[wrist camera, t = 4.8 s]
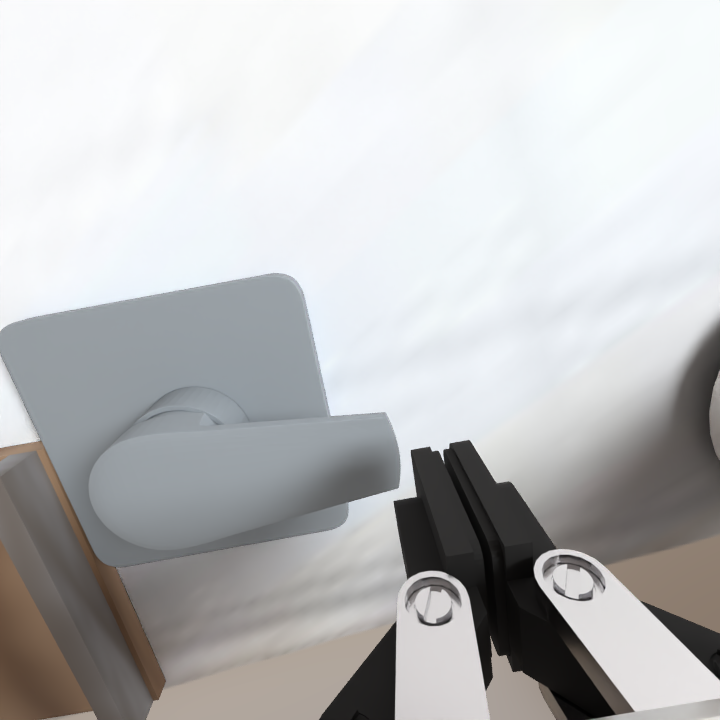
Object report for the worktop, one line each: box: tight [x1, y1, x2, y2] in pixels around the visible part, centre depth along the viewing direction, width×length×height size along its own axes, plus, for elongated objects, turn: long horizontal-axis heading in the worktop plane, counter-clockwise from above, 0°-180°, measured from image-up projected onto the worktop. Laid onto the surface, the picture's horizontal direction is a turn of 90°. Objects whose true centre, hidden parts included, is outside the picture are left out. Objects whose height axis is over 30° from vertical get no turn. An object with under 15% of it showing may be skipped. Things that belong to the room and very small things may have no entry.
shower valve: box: [0, 273, 400, 567], centre depth 16 cm, size 12×6×15 cm
